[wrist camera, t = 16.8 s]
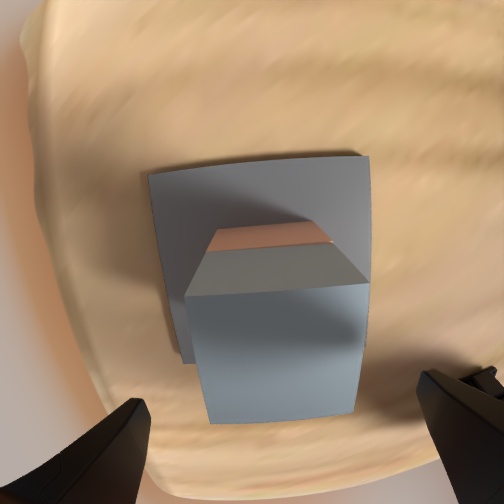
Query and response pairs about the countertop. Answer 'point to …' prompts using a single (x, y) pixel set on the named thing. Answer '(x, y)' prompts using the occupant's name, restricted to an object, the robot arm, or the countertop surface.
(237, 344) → the slate-grey brick
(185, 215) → the base plate
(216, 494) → the countertop surface
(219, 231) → the terracotta brick
